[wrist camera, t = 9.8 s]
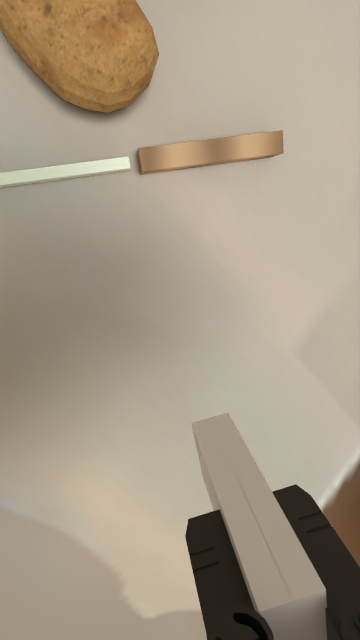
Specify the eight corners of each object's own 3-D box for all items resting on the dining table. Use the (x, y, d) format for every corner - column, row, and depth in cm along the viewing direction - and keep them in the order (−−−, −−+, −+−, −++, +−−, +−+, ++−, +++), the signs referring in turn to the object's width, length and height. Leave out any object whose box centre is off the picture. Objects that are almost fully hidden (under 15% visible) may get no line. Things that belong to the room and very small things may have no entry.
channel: (140, 174, 35) (142, 171, 32) (103, -55, 29) (101, -83, 26) (270, 157, 36) (283, 153, 34) (261, -64, 30) (275, -92, 28)
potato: (30, -71, 28) (-3, -173, 20) (172, 55, 32) (188, 8, 25) (-24, 43, 30) (-73, -12, 22) (118, 148, 34) (117, 131, 26)
